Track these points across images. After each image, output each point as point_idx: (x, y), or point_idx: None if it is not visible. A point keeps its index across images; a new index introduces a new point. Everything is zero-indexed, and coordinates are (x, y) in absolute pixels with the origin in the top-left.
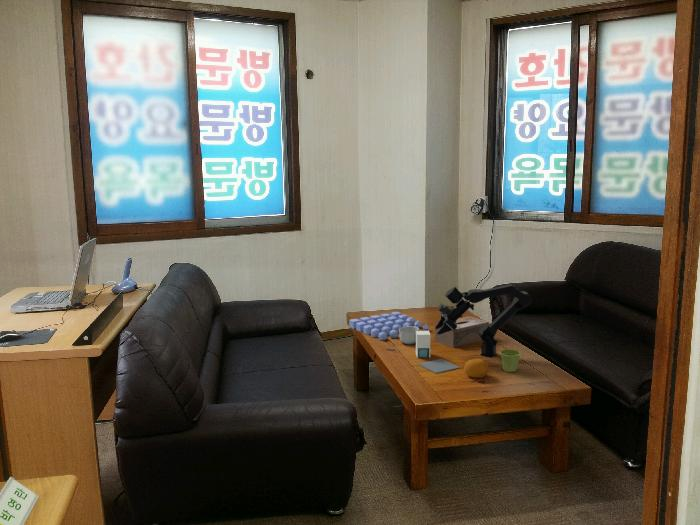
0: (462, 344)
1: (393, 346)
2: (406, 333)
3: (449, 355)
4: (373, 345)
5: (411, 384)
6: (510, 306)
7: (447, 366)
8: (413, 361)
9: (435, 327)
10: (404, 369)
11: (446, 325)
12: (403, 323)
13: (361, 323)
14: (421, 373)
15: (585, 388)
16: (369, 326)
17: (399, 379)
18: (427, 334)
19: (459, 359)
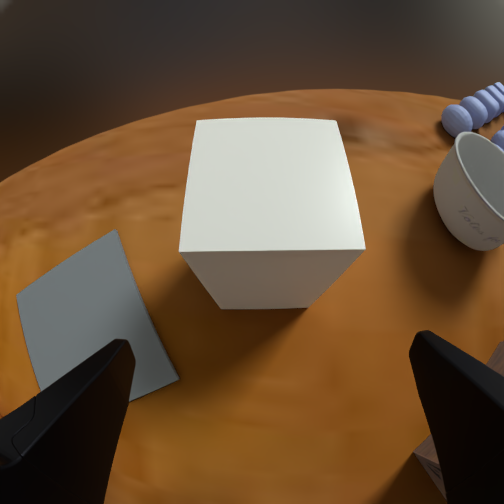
0: (439, 488)
1: (393, 144)
2: (453, 157)
3: (266, 438)
4: (381, 92)
5: None
6: None
7: (62, 372)
8: (166, 209)
9: (422, 337)
10: (83, 175)
11: (8, 496)
12: None
13: (495, 91)
14: (32, 238)
15: None
16: (487, 97)
17: (24, 170)
18: (189, 215)
19: (187, 477)
